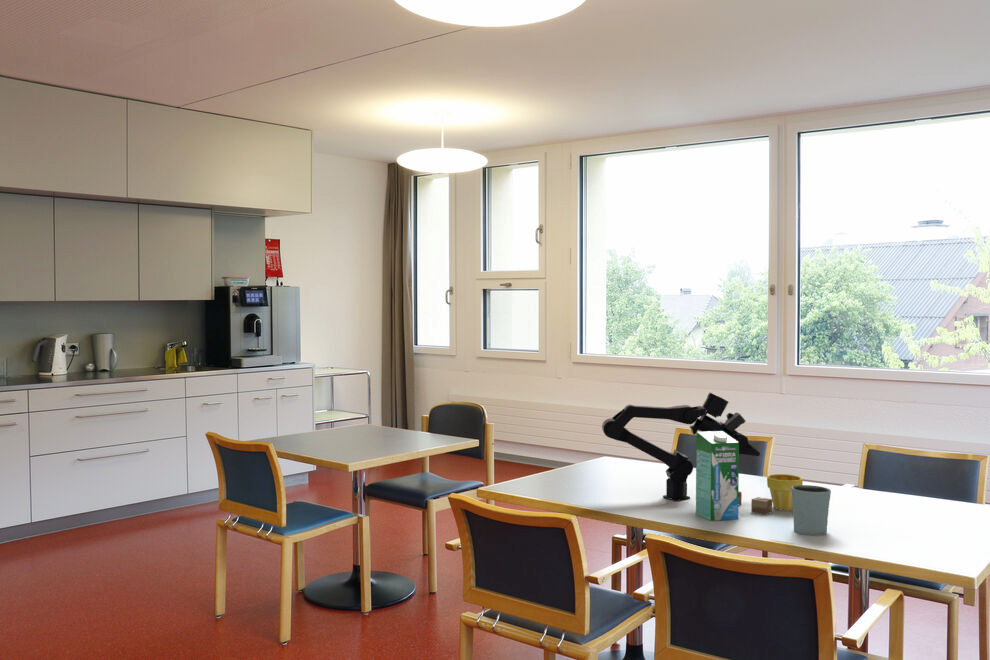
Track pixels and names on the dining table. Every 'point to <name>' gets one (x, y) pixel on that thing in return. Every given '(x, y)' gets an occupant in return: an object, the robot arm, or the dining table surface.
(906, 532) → the dining table surface
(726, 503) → the milk carton
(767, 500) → the marked block
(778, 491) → the plant pot
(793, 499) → the grey cup
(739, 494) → the marked block
